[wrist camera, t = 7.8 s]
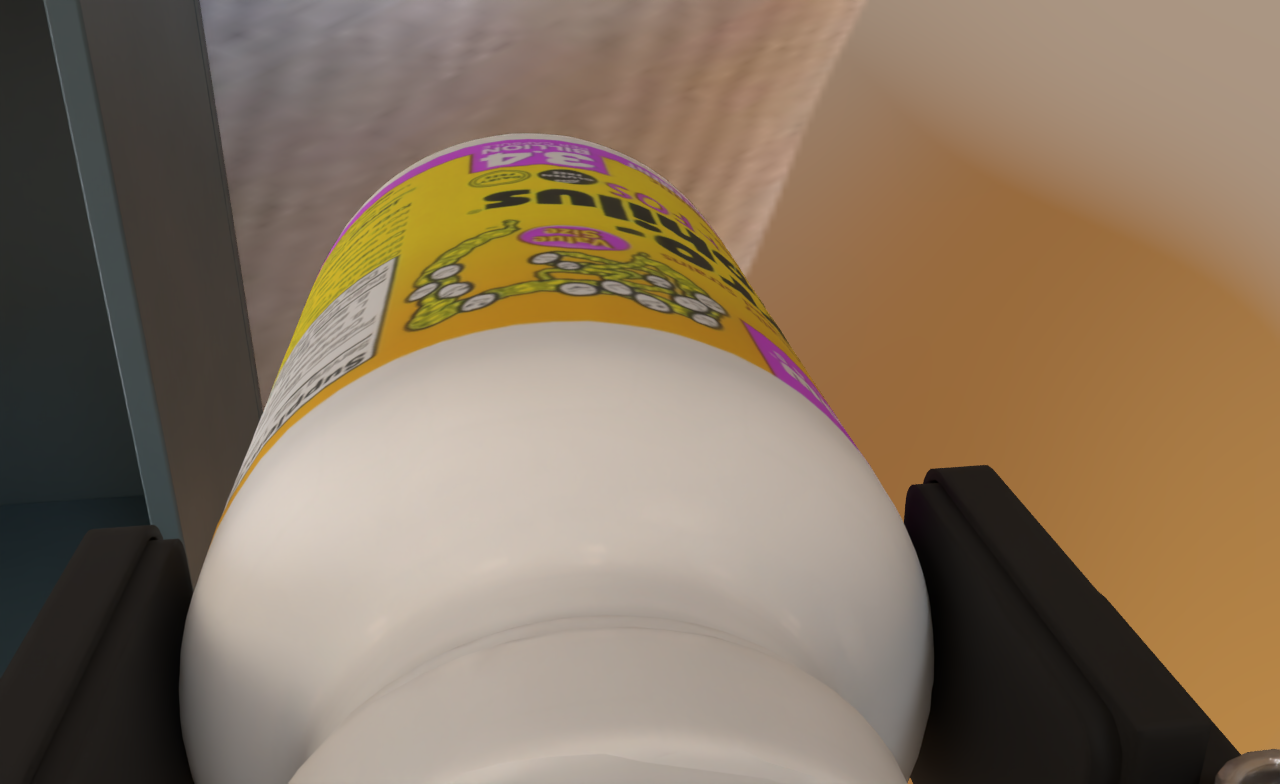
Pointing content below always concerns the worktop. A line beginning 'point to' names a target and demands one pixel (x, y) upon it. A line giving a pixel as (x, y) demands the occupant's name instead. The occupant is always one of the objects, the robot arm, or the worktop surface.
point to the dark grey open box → (113, 291)
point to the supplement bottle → (550, 512)
